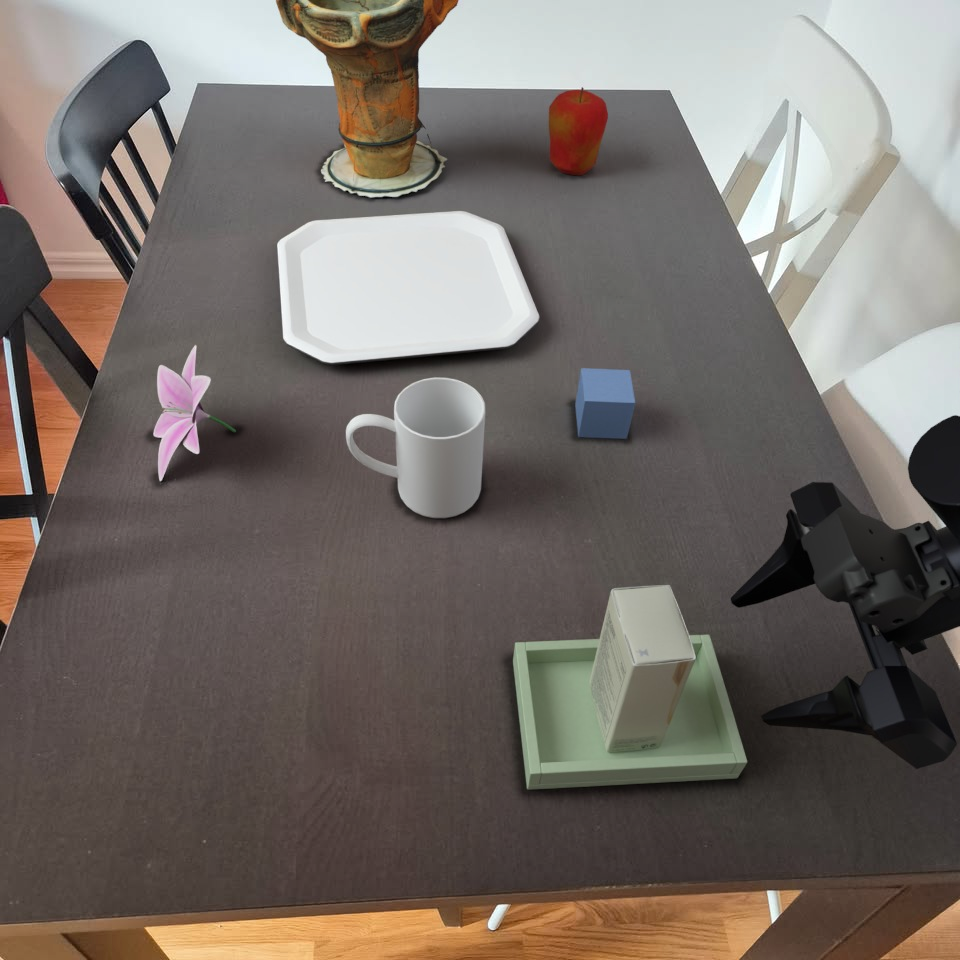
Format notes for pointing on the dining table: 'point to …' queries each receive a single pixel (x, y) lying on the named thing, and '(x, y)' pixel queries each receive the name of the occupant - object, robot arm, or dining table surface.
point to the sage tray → (577, 736)
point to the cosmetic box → (640, 667)
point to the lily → (180, 410)
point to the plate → (401, 288)
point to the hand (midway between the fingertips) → (748, 658)
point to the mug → (432, 446)
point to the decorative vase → (374, 87)
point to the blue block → (604, 403)
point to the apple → (576, 130)
